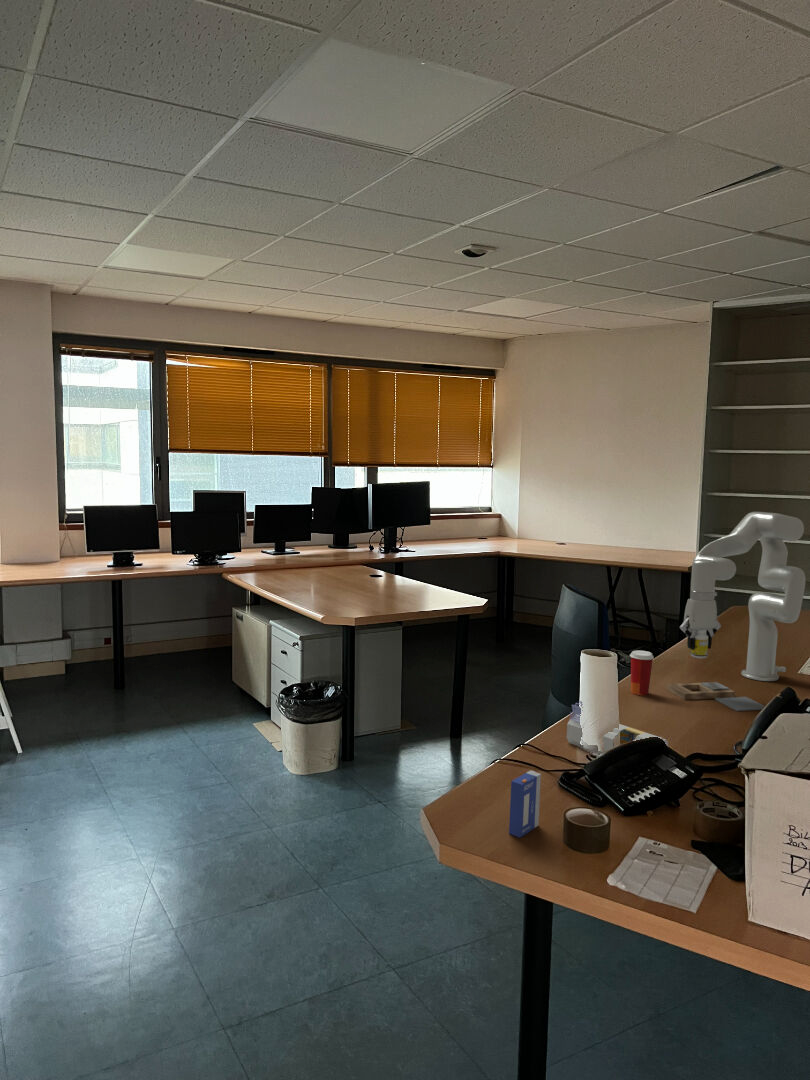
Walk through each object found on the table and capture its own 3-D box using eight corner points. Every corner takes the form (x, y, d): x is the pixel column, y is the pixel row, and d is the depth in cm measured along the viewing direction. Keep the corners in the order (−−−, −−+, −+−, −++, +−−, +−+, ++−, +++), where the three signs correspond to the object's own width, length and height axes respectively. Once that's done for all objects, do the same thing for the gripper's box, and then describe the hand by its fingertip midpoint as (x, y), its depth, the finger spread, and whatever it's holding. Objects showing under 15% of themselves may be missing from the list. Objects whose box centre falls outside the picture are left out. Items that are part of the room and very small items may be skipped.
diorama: (565, 744, 218) (568, 698, 216) (588, 736, 224) (590, 692, 223) (645, 773, 199) (648, 724, 197) (666, 763, 206) (670, 716, 204)
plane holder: (715, 687, 274) (715, 680, 274) (734, 697, 264) (735, 689, 264) (666, 689, 270) (667, 682, 270) (684, 699, 260) (685, 692, 259)
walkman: (520, 838, 163) (522, 783, 162) (508, 833, 165) (511, 779, 163) (539, 825, 169) (542, 772, 168) (528, 821, 171) (530, 768, 169)
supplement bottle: (687, 654, 268) (689, 626, 267) (702, 654, 268) (704, 626, 267) (694, 658, 263) (696, 630, 261) (710, 658, 263) (711, 630, 262)
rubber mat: (745, 697, 264) (745, 696, 264) (769, 709, 252) (769, 708, 252) (714, 699, 261) (714, 698, 261) (736, 711, 249) (737, 709, 249)
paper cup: (651, 691, 268) (654, 651, 267) (650, 697, 261) (653, 656, 259) (628, 688, 271) (630, 649, 269) (626, 694, 263) (629, 654, 262)
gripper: (718, 592, 268) (714, 644, 271) (673, 594, 265) (670, 646, 267) (731, 597, 261) (728, 649, 263) (685, 598, 257) (682, 652, 260)
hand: (699, 647), depth 265 cm, fingers closed on supplement bottle, 5 cm apart
